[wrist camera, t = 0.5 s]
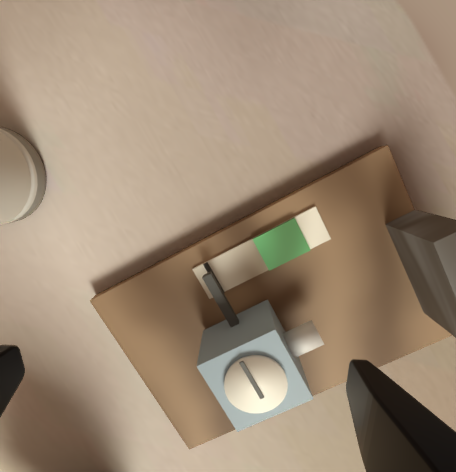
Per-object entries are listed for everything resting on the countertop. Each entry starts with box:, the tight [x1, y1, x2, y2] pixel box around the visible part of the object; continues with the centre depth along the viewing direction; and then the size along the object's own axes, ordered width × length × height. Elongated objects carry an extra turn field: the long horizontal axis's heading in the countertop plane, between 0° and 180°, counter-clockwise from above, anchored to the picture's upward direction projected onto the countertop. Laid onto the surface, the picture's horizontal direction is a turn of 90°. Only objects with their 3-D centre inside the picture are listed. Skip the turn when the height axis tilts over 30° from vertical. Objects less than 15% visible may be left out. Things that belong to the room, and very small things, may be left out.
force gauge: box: [197, 271, 324, 432], centre depth 19 cm, size 7×9×4 cm
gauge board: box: [90, 145, 456, 449], centre depth 20 cm, size 22×14×6 cm, turn 118°
